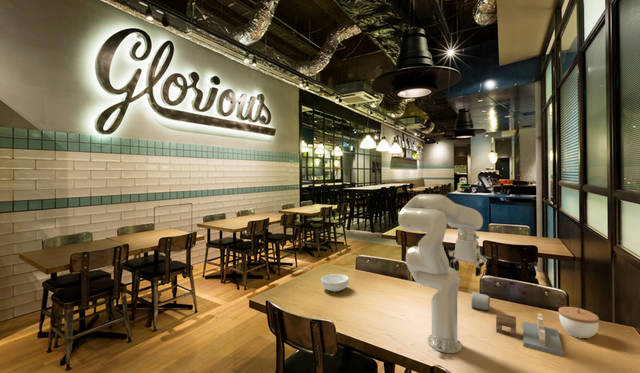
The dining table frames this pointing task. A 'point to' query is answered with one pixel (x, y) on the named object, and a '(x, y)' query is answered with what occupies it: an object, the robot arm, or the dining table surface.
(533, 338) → the slate board
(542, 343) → the maple fin
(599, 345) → the dining table surface
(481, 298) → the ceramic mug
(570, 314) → the lidded bowl
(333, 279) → the cereal bowl
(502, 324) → the walnut slotted block
